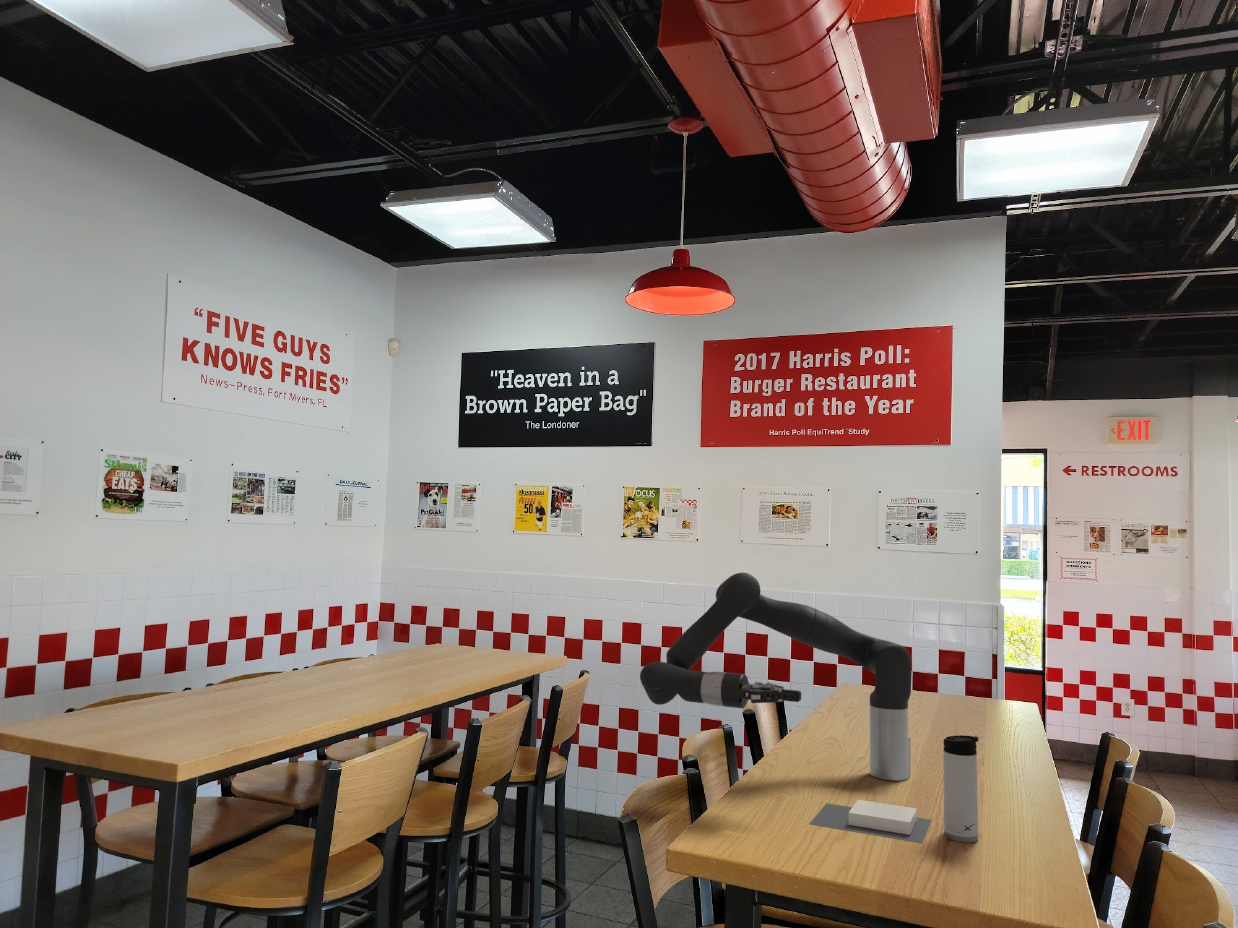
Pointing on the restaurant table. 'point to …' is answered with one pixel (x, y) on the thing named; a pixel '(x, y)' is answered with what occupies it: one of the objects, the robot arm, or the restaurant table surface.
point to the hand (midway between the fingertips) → (800, 696)
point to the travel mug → (960, 788)
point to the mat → (839, 819)
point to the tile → (883, 817)
